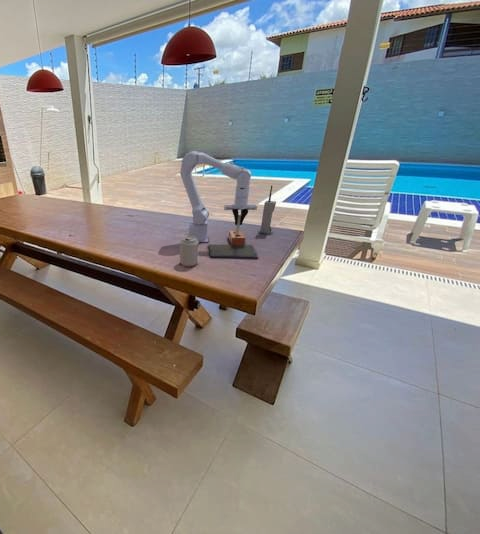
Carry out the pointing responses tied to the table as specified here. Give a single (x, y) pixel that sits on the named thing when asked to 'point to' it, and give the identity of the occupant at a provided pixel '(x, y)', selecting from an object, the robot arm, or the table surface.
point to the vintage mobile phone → (267, 215)
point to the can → (189, 251)
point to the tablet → (232, 251)
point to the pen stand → (236, 238)
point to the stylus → (238, 224)
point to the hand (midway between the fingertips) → (238, 224)
